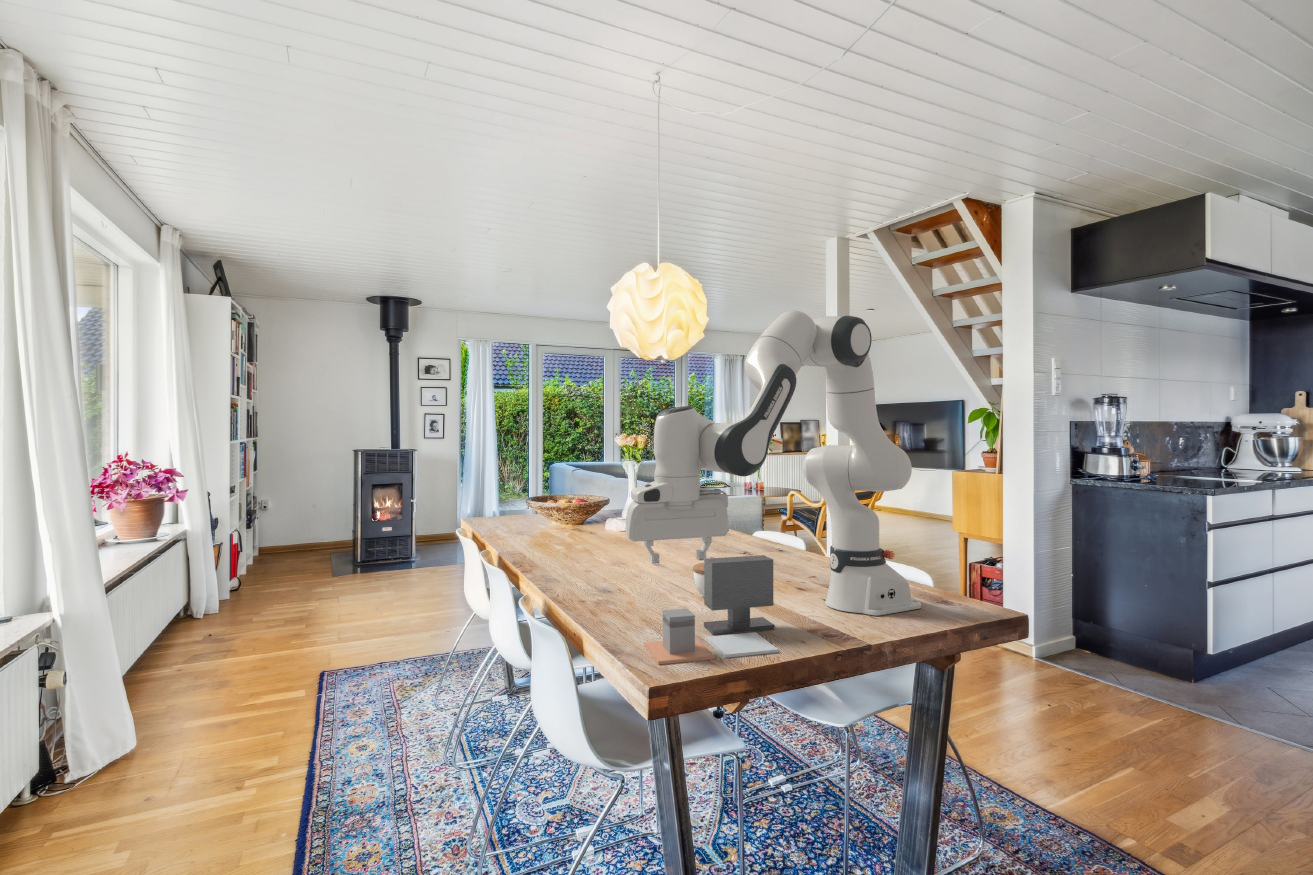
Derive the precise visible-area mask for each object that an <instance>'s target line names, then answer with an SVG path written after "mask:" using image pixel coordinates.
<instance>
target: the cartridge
mask: <svg viewBox="0 0 1313 875" xmlns="http://www.w3.org/2000/svg"><path fill="white" fill-rule="evenodd" d="M695 638H696V615H695V614H694V613H693V612H692V611H691V610H689V609H688V608H677V609H674V608H673V609H663V610H662V641H663V647H664V648H665V649H666V650H667V651H668V653H669V654H678V653H688V652H695Z"/></svg>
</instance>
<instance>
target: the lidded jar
mask: <svg viewBox="0 0 1313 875" xmlns="http://www.w3.org/2000/svg"><path fill="white" fill-rule="evenodd" d="M692 570H693V582H694V586H695V588H696V591H697V592H698V593H699V594H700V595H701V597H702V598H704V562H699V563H695V564H694V565H693V566H692Z"/></svg>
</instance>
